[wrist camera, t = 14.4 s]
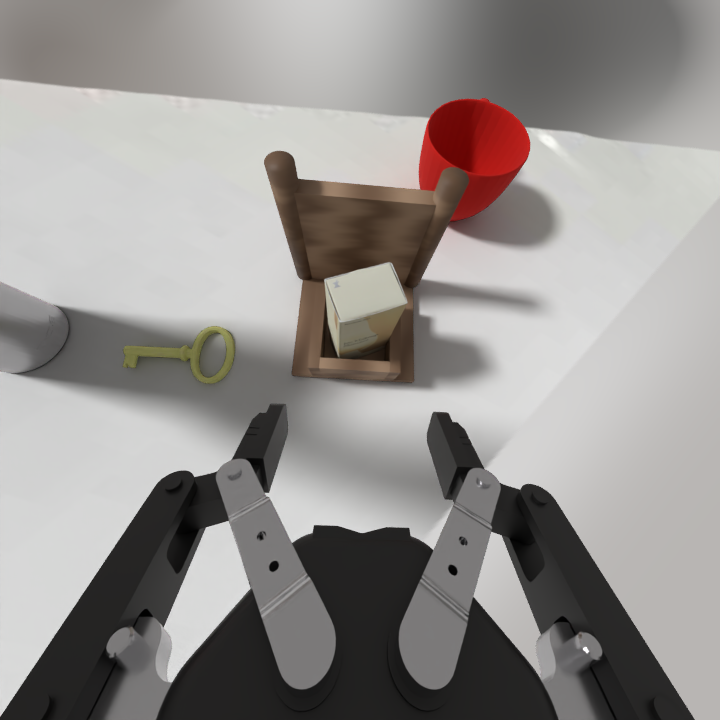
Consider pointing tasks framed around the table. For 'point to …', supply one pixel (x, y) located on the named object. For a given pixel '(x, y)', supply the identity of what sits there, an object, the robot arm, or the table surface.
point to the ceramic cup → (473, 150)
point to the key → (186, 354)
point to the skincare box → (363, 309)
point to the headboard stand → (358, 256)
